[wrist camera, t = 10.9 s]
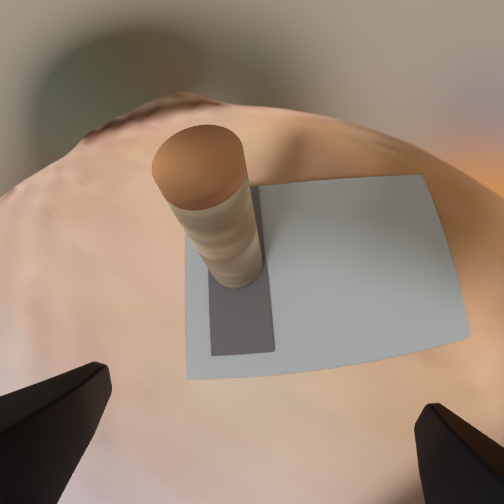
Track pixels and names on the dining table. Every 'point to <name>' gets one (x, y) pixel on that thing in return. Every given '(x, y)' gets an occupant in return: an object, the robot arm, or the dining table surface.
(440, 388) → the dining table surface
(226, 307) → the strip
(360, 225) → the board
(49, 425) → the robot arm
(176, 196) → the birch peg
